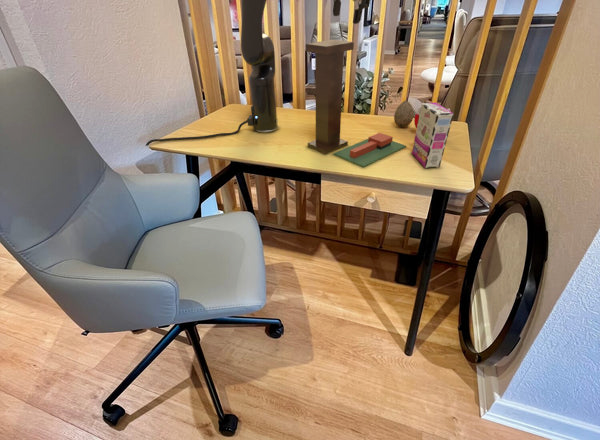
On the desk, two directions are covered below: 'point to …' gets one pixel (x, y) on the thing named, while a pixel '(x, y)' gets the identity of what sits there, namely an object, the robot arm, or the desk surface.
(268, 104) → the robot arm
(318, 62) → the stand
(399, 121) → the decorative egg
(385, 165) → the desk surface
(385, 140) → the brush
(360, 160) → the felt mat
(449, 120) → the candy bar box
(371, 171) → the desk surface
